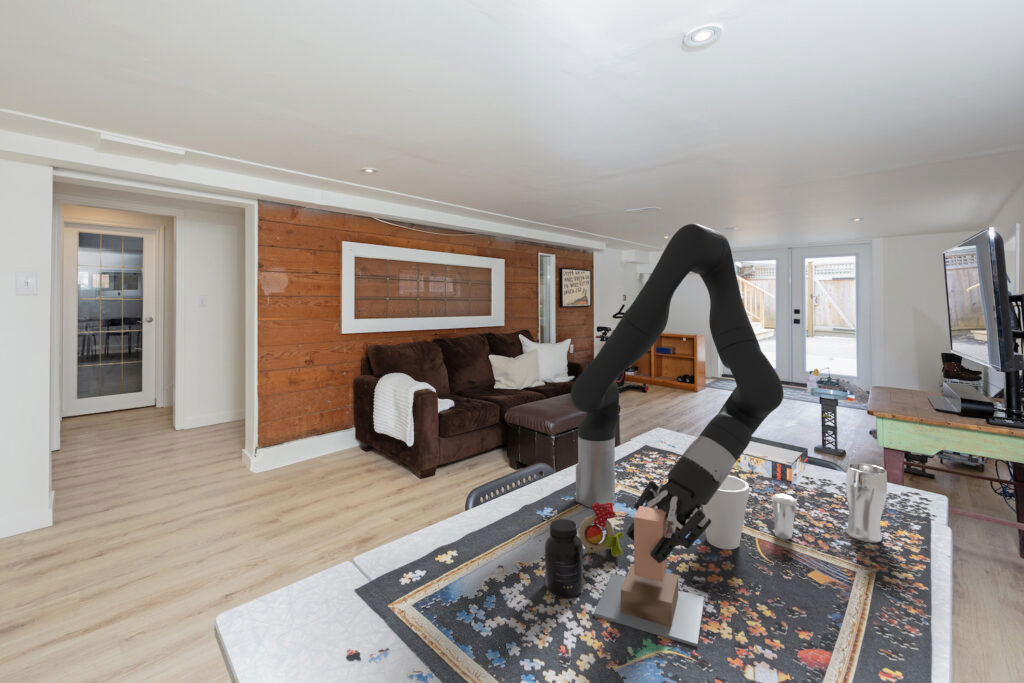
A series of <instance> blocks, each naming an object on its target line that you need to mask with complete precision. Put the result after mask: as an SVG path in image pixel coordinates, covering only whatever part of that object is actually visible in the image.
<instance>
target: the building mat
mask: <svg viewBox="0 0 1024 683" xmlns="http://www.w3.org/2000/svg"><path fill="white" fill-rule="evenodd" d="M625 578H626V576H623V575H619V574H616V573H611V575H610V578H609V580H608V582H607V584H606V587H604V588H605V589H604V590H603V592H602V594H601V597H600V598H599V601H598V603H597V605H596V606H595V609H594V611H593V617H596V618H599V619H603V620H605V621H606V620H607V621H609V622H613V623H616V624H620V625H624V626H625V627H629V628H633V629H636V630H639V631H643V632H647V633H649V634H653V635H656V636H660V637H663V638H666V639H669V640H673V641H676V642H679V643H682V644H686V645H689V646H692V647H696V648H698V646H699V640H700V639H699V637H700V634H701V633H700V631H701V626H702V617H703V609H704V603H705V596H701V595H698V594H694V593H692V592H691V593H690V592H686V591H682V590H679V589H678V600H677V605H676V609H675V614H674V618H673V622H672V627H669V626H666V625H662V624H659V623H655V622H652V621H648V620H645V619H641V618H638V617H635V616H631V615H628V614H624V613H621V588H622V585H623V583H624V581H625Z"/></svg>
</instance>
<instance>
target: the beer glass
mask: <svg viewBox="0 0 1024 683" xmlns="http://www.w3.org/2000/svg"><path fill="white" fill-rule="evenodd" d="M887 473H888V472H887V470H886V469H885V468H884V467H881V466H878V465H875V464H870V463H865V462H851V463H848V464H847V472H846V475H845V476H846V478H845V495H846V502H847V507H848V516H849V517H848V522H847V527H846V531H845V532H846V534H847V535H848V536H849V537H851V538H853V539H855V540H857V541H861V542H866V543H871V544H875V543H876V544H877V543H879V542H882V539H883V537H882V532H881V519H882V516H883V515H882V514H883V512H884V509H885V506H886V502H887V498H888V497H887V495H888V477H887V476H888V475H887Z"/></svg>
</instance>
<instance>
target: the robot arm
mask: <svg viewBox="0 0 1024 683" xmlns="http://www.w3.org/2000/svg"><path fill="white" fill-rule="evenodd" d="M690 272H691V273H694V274H695V275H696V274H698V275H699V276H700V278H701V280H702V282H703V283H704V285H705V287H706V289H707V292H708V294H709V300H710V301H709V305H710V306H709V307H710V309H709V320H708V321H709V324H708V325H709V330H710V335H711V337H712V340H713V343H714V346H715V349H716V351H717V354H718V357H719V359H720V361H721V363H722V366H724V367H725V368H726V369H729V370H730V373H731V375H732V376H733V378H734V381H735V384H736V387H735V388H734V389H733V391H732V392H731V393H730V395H729V396H728V398H727V399H726V401H724V403H723V405H722V407H721V408H720V410H719V411H718V413H717V414H716V415H714V417H712V419H711V420H710V421H709V422H708V424H706V426H705V428H704V429H703V430H702V431H701V432H700V434H699V435H698V436H697V437H696V439H695V440H694V441H692V443H690V445H688V447H687V448H686V449H685V451H684V452H683V453H682V455H681V456H680V457H679V459H678V460H677V461H676V463H675V464H674V465H673V467H672V468H670V470H669V472H668V473H667V479H668V480H667V482H665V484H663V485H662V486H660V485H658V484H657V483H656V482H655V481H653V480H651V481H649V482H648V484H647V486H646V487H645V489H644V490H643V492H642V493H641V494H640V496H639V497H638V499H637V501H635V504H634V506H633V508H634V509H635V511H637V510H638V508H639V506H644V507H649V508H655V509H660V510H663V511H664V512H666V516H667V531H666V538H665V537H664V536H663V537H662V538H661V539H660V541H659V542H658V543H657V545H656V546H655V547H654V549H653V550H652V551H651V553H650V555H651V557H652V558H654V559H655V560H656V561H657V562H658V563H661V562H662V561H664V560H666V558H667V559H668V557H669V556H670V554H671V553H672V552H673V550H674V549H675V548H676V547H679V546H680V547H684V548H685V549H690V548H691V546H692V545H693V544H694V543H695V542H696V541H697V539H699V538H700V536H702V534H703V533H704V532H705V531H706V528H707V527H708V526H709V525H710V524H711V520H710V519H709V518H708V516H707V515H706V514H705V513H703V510H701V507H702V506H703V505H706V504H707V503H708V502H709V501H710V499H711V498H712V497H713V495H714V494H715V493H716V491H717V490H718V488H719V487H720V486H721V484H722V483H723V482H724V480H725V479H726V478H727V476H728V475H729V476H730V473H731V472H732V470H733V468H734V466H735V465H736V463H737V461H738V460H739V458H740V457H741V455H742V454H743V453H744V452H745V451H746V449H747V447H748V446H749V444H750V442H751V440H752V437H753V434H755V432H756V431H757V429H758V428H760V425H761V424H762V423H763V422H764V421H765V420H766V418H767V417H769V415H770V414H771V413H773V412H774V411H775V410H776V409H778V408H779V407H780V405H781V404H782V402H783V400H784V387H783V385H782V381H781V379H780V376H779V375H778V373H777V371H776V370H775V368H774V366H773V364H771V362H770V361H769V359H768V357H767V356H766V355H765V354H764V353H763V351H762V349H761V346H760V343H759V340H758V338H757V335H756V333H755V331H754V329H753V326H752V323H751V321H750V319H749V316H748V313H747V310H746V307H745V305H744V302H743V298H742V294H741V290H740V286H739V282H738V276H737V273H736V268H735V263H734V258H733V252H732V248H731V246H730V242H729V240H728V239H727V237H726V236H725V235H724V234H723V233H722V232H720V231H717V230H715V229H712V228H709V227H708V226H707V227H706V226H704V225H702V224H698V223H689V224H686V225H683V226H682V227H681V228H679V229H678V230H677V231H676V232H675V233H674V234H673V235H672V237H671V239H670V240H669V241H668V243H667V245H666V246H665V249H664V251H663V252H662V253H661V255H660V257H659V259H658V262H657V263H656V265H655V267H654V268H653V270H652V272H651V274H650V275H649V277H648V279H647V281H646V282H645V284H643V286H642V289H641V290H640V291H639V293H638V294H637V295H636V298H635V299H634V300H633V302H632V303H631V305H630V306H629V307H628V309H627V310H626V311H625V313H624V315H622V317H621V319H620V320H619V322H618V323H617V325H616V327H615V328H614V330H612V332H611V334H610V335H609V336H608V338H607V339H606V341H605V342H604V344H603V345H602V347H601V348H600V350H599V352H598V353H597V355H596V356H595V357H594V359H592V361H591V362H590V363H589V364H588V366H587V367H586V368H584V370H583V371H582V372H581V374H580V375H578V377H577V378H576V379H575V381H574V382H573V384H572V387H571V392H570V399H571V403H572V405H573V406H574V407H575V408H576V410H578V411H580V412H583V413H586V415H585V417H584V418H583V419H582V421H580V423H579V424H578V426H577V446H578V447H577V450H578V452H577V455H578V460H577V461H578V462H577V464H576V465H575V502H576V503H579V504H581V505H582V506H585V507H588V508H590V509H592V507H591V505H592V504H593V503H601V504H606V503H612V504H613V505H615V503H616V493H615V492H616V466H615V465H616V459H615V458H616V453H615V452H616V450H615V449H616V446H615V442H616V441H615V440H616V433H615V432H616V429H617V426H618V423H619V406H620V392H619V386H618V383H617V381H616V380H617V378H618V377H619V376H620V375H621V374H622V373H624V372H625V371H626V370H628V369H629V368H630V367H632V366H633V365H634V364H635V363H636V362H637V361H638V360H640V359H641V358H643V356H644V355H646V354H647V352H648V351H650V350H651V348H652V347H653V346H654V345H655V344H656V342H657V340H658V339H659V338H660V337H661V335H662V334H663V332H664V331H665V329H666V327H667V324H668V321H669V316H670V315H669V314H670V307H671V302H672V298H673V296H674V293H675V292H676V290H677V289H678V287H679V286H680V285H681V283H682V282H683V280H684V279H685V278H686V277H687V275H689V274H690ZM645 502H646V503H645ZM644 504H645V505H644ZM688 534H689V535H688ZM626 536H628V537H629V538H630V539H631V540H632V541H633V542H634V521H632V523H631V525H630V526H629V527H628V529H627V531H626Z"/></svg>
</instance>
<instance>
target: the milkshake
mask: <svg viewBox="0 0 1024 683" xmlns="http://www.w3.org/2000/svg"><path fill="white" fill-rule="evenodd" d="M801 494H802V493H801V491H799V493H798V494H797V496H796V498H795V497H793V496H791V495H790V494H786V493H775V494H774V495H772V497H771V499H772V500H771V501H772V510H773V522H774V523H773V524H774V536H776V537H777V538H779V539H782V540H791V539H792V537H793V529H794V522H795V515H796V509H797V503H798V502H797V501H798V499H799V497H800V495H801Z"/></svg>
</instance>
